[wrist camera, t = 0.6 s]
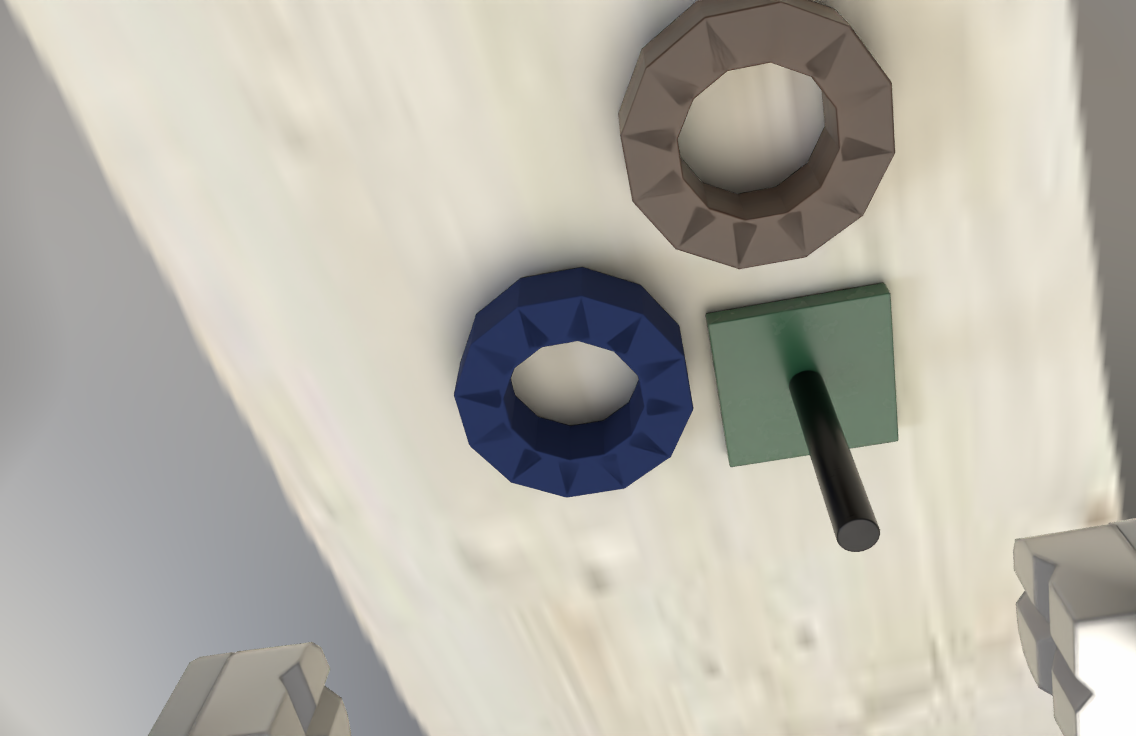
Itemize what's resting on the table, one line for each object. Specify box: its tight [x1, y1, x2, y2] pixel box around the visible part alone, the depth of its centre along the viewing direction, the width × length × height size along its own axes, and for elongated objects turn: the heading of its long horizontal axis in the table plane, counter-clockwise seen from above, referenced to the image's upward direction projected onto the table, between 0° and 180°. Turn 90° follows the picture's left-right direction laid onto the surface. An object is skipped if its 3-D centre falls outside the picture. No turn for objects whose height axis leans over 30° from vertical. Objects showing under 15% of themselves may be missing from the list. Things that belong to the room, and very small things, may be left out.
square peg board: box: [706, 283, 898, 552], centre depth 50 cm, size 9×9×13 cm
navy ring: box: [454, 267, 693, 497], centre depth 54 cm, size 12×12×3 cm
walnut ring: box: [618, 0, 895, 269], centre depth 47 cm, size 12×12×3 cm
